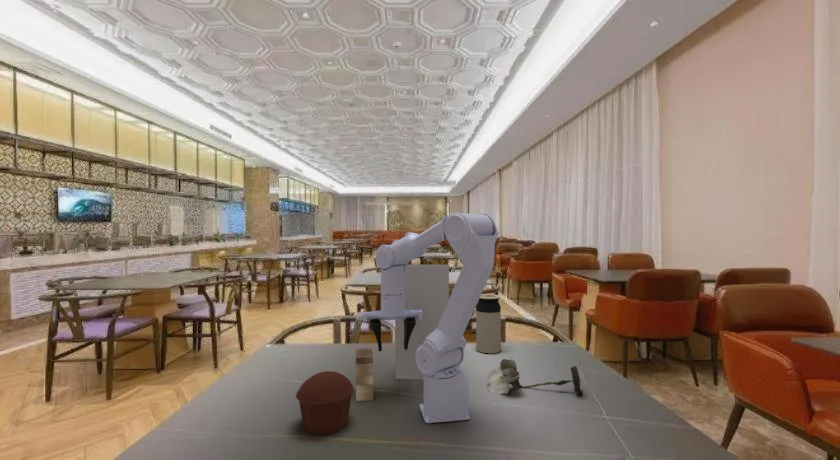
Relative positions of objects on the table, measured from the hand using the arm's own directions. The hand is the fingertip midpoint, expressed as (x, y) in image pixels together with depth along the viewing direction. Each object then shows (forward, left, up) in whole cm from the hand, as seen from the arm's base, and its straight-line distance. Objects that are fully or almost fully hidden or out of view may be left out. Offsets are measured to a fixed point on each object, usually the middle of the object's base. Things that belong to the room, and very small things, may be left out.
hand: (392, 349), depth 94 cm
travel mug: (-34, -27, -11) cm, 45 cm away
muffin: (+15, +13, -11) cm, 23 cm away
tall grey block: (-9, -9, -11) cm, 17 cm away
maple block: (+7, 0, -10) cm, 13 cm away
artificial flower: (-34, +6, -11) cm, 36 cm away
